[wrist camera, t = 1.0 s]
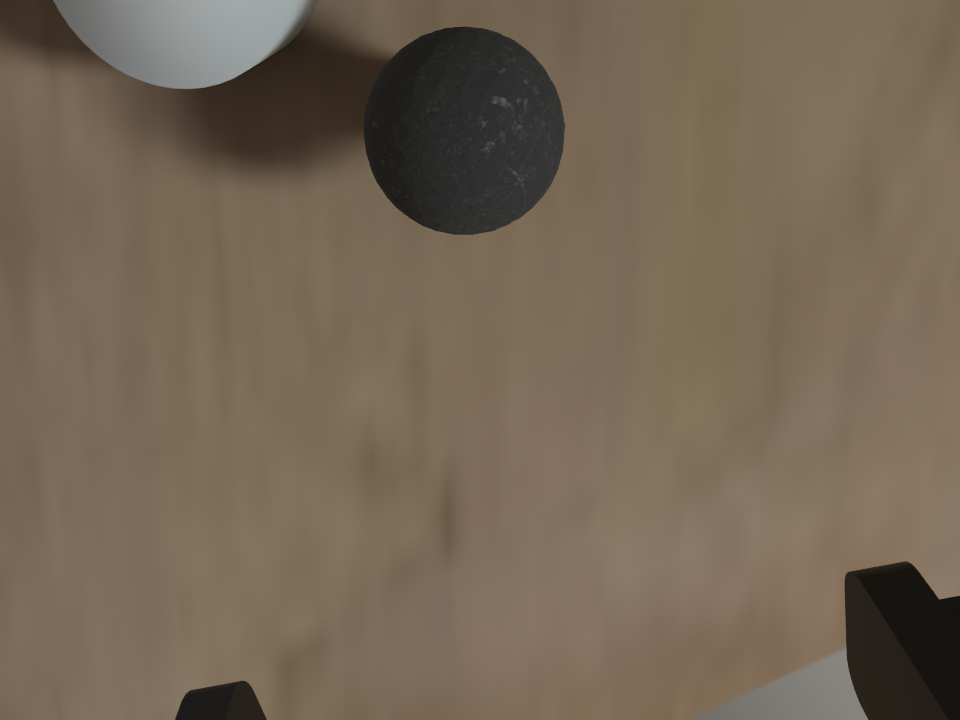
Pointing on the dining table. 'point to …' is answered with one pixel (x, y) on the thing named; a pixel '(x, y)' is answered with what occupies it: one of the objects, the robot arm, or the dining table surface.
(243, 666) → the dining table surface
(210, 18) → the cylinder
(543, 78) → the light bulb
